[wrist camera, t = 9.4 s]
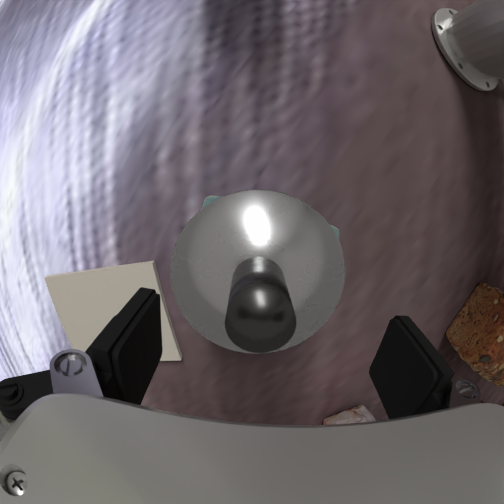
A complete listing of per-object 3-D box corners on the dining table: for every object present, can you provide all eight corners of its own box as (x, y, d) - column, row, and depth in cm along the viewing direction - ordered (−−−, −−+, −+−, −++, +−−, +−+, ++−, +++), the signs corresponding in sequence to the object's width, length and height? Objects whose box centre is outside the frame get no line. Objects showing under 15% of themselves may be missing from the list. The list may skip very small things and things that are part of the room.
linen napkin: (154, 260, 26) (152, 263, 26) (182, 356, 30) (181, 360, 29) (47, 275, 27) (44, 277, 26) (79, 354, 30) (77, 357, 30)
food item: (312, 417, 34) (324, 471, 24) (362, 392, 32) (384, 444, 23) (344, 448, 37) (356, 490, 27) (384, 428, 36) (402, 469, 26)
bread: (438, 335, 30) (476, 376, 20) (480, 272, 27) (527, 301, 18) (479, 366, 33) (506, 397, 23) (512, 319, 30) (543, 345, 21)
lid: (348, 193, 16) (393, 206, 10) (329, 345, 19) (351, 399, 14) (169, 190, 16) (129, 200, 10) (181, 343, 19) (161, 398, 13)
